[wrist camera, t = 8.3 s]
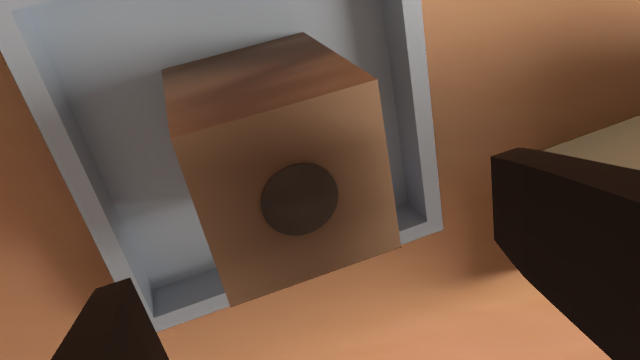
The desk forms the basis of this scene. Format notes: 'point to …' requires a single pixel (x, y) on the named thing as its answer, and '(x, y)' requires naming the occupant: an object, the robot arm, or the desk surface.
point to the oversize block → (607, 145)
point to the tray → (152, 124)
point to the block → (282, 162)
